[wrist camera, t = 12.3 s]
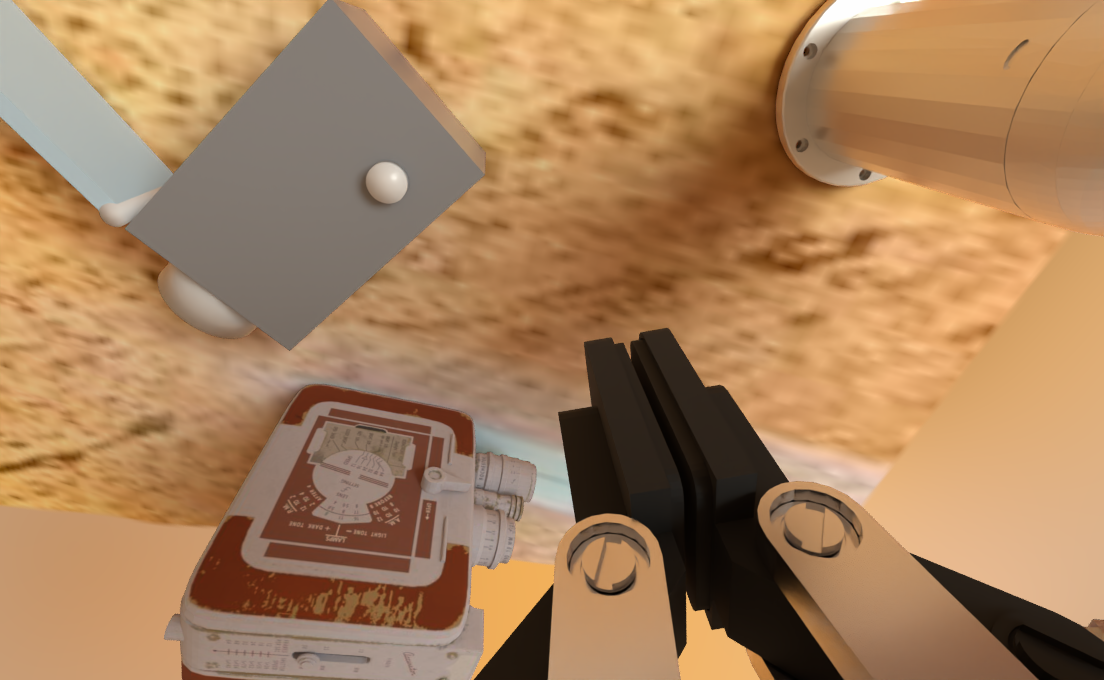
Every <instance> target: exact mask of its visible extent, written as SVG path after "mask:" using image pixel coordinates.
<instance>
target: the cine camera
mask: <svg viewBox="0 0 1104 680" xmlns="http://www.w3.org/2000/svg"><path fill="white" fill-rule="evenodd" d="M475 447H476V440H475V428H474V423H473V420H472V418H471V417H470V416H468V415H467V414H465V413H463V412H460V411H456V410H452V409H447V408H443V407H438V406H433V405H428V404H423V403H418V402H413V401H408V400H403V399H398V398H392V397H387V396H382V395H377V394H372V393H367V392H362V391H357V390H352V389H347V388H342V387H336V386H330V385H323V384H312V385H307V386H305V387H304V388H303V389H301V390H300V391H299V392H298V393H297V395H296V396H295V397H294V399H293V400H292V401H291V403H290V404H289V405H288V407H287V409H286V410H285V412H284V414H283V415H282V417H281V419H280V420H279V422H278V424H277V425H276V427H275V429H274V431H273V432H272V434H271V436H270V437H269V439H268V441H267V443H266V444H265V446H264V448H263V450H262V451H261V453H260V455H259V456H258V458H257V460H256V462H255V463H254V465H253V467H252V469H251V470H250V472H249V474H248V476H247V477H246V479H245V481H244V482H243V484H242V486H241V488H240V489H239V491H238V493H237V495H236V496H235V498H234V500H233V502H232V503H231V505H230V507H229V508H228V510H227V512H226V514H225V515H224V517H223V519H222V521H221V522H220V524H219V526H218V528H217V529H216V531H215V533H214V535H213V537H212V538H211V540H210V542H209V544H208V545H207V547H206V549H205V551H204V552H203V554H202V556H201V558H200V559H199V562H198V563H197V565H196V567H195V569H194V571H193V573H192V575H191V577H190V579H189V582H188V585H187V588H186V590H185V593H184V595H183V597H182V601H181V608H180V614H174V615H173V616H172V618H171V620H170V621H169V624H168V626H167V628H166V631H165V635H164V639H165V640H177V641H180V647H181V657H182V679H183V680H471V678H472V675H473V673H474V671H475V669H476V667H477V664H478V662H479V660H480V657H481V656H482V653H483V634H484V633H483V632H484V629H483V628H484V610H482V609H477V608H474V607H472V606H471V605H469V603H470V593H471V569H472V567H473V566H475V565H481V566H487V568H488V569H495V568H496V567H497V565H498V564H499V563H508V562H509V560H510V557H511V554H512V551H513V546H514V541H515V521H520V519H521V516H522V513H523V507H524V502H529V501H530V500H531V498H532V496H533V493H534V489H535V484H536V466H535V465H534V464H531V463H530V462H528V461H522V460H519V459H518V458H512V457H508V456H507V455H503V454H501V455H500V456H498V455H494V454H493V453H491V452H487V453H486V454H483V453H477V454H475Z"/></svg>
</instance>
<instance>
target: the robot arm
mask: <svg viewBox="0 0 1104 680" xmlns="http://www.w3.org/2000/svg"><path fill="white" fill-rule="evenodd" d="M805 48H806V52H805V54H803V52H804V49H805ZM776 124H777V128H778V133H779V138H780V141H781V143H782V145H783V148H784V150H785V152H786V154H787V156H788V157H789V158H790V160H791V161H792V162H793V164H794V165H795V166H796V167H797V168H798V169H800V170H801V171H802V172H803V173H805V174H806V175H807V176H809V177H811V178H814V179H816V180H818V181H820V182H824V183H827V184H830V185H834V186H846V187H853V186H861V185H866V184H870V183H873V182H876V181H879V180H882V179H884V178H886V177H888V176H889V177H892V178H895V179H899V180H902V181H905V182H909V183H912V184H915V185H919V186H922V187H925V188H928V189H932V190H935V191H938V192H942V193H945V194H948V195H952V196H955V197H958V198H962V199H965V200H968V201H972V202H975V203H978V204H982V205H985V206H988V207H992V208H995V209H998V210H1001V211H1005V212H1008V213H1011V214H1015V215H1018V216H1021V217H1025V218H1028V219H1031V220H1035V221H1038V222H1041V223H1045V224H1049V225H1053V226H1056V227H1059V228H1063V229H1066V230H1070V231H1074V232H1078V233H1083V234H1088V235H1096V236H1104V0H828V1H826V2H825V3H824V4H823V5H822V6H821V7H820V9H819V10H818V11H817V12H816V13H815V14H814V15H813V16H812V18H811V19H810V20H809V21H808V22H807V24H806V25H805V27H804V28H803V30H802V31H801V33H800V35H799V36H798V38H797V39H796V41H795V42H794V45H793V47H792V49H791V51H790V53H789V55H788V57H787V59H786V61H785V64H784V68H783V71H782V74H781V77H780V81H779V85H778V92H777V99H776ZM797 142H798V145H797V146H796V144H797ZM584 348H585V356H586V364H587V372H588V380H589V388H590V396H591V404H592V407H587V408H581V409H575V410H569V411H563V412H558V415H559V421H560V427H561V433H562V439H563V446H564V452H565V458H566V464H567V470H568V477H569V483H570V489H571V495H572V501H573V508H574V514H575V520H576V524H575V525H574V526H573V527H572V528H571V529H569V530H568V531H567V532H566V533H565V535H564V537H563V538H562V540H561V541H560V543H559V545H558V549H557V553H556V558H555V571H554V583H553V585H552V586H551V587H550V588H549V590H548V591H547V592H546V593H545V594H544V596H543V597H542V598H541V599H540V601H539V602H538V603H537V604H536V605H535V606H534V608H533V609H532V610H531V611H530V613H529V614H528V615H527V616H526V617H525V619H524V620H523V621H522V622H521V623H520V625H519V626H518V627H517V628H516V629H515V631H514V632H513V633H512V634H511V635H510V637H509V638H508V639H507V640H506V641H505V643H504V644H503V645H502V647H501V648H500V649H499V650H498V651H497V652H496V654H495V655H494V656H493V657H492V659H491V660H490V661H489V662H488V664H486V666H485V667H484V668H483V669H482V670H481V672H480V673H479V674H478V675H477V677H476V678H475V679H474V680H681V679H680V672H679V666H678V658H679V656H680V655H681V653H682V651H683V649H684V647H685V646H686V643H687V642H686V592H687V595H688V598H689V600H690V603H691V606H692V608H693V610H695V611H698V610H705V613H706V616H707V618H708V621H709V624H710V626H711V629H712V630H714V629H720V628H725V631H726V634H727V636H728V637H729V638H731V639H732V640H734V641H736V642H737V643H739V644H741V645H742V646H744V647H746V651H747V654H748V656H749V659H750V661H751V664H752V666H753V668H754V669H755V671H756V673H757V675H758V677H759V678H760V680H1104V620H1100V619H1093V620H1092V621H1091V623H1090V624H1089V626H1088V627H1083V626H1081V625H1079V624H1077V623H1075V622H1073V621H1071V620H1069V619H1067V618H1065V617H1063V616H1061V615H1059V614H1057V613H1055V612H1053V611H1050V610H1048V609H1046V608H1043V607H1040V606H1038V605H1036V604H1033V603H1031V602H1029V601H1026V600H1024V599H1021V598H1019V597H1016V596H1013V595H1011V594H1009V593H1006V592H1004V591H1002V590H999V589H997V588H994V587H992V586H989V585H987V584H984V583H982V582H980V581H977V580H975V579H972V578H970V577H967V576H965V575H963V574H960V573H958V572H955V571H953V570H950V569H948V568H945V567H943V566H941V565H938V564H936V563H933V562H931V561H928V560H926V559H924V558H921V557H919V556H916V555H914V554H911V553H909V552H908V551H907V550H905V548H904V547H902V546H901V545H900V544H899V543H898V542H897V541H896V540H895V539H894V538H893V537H892V536H891V535H890V534H889V533H888V532H887V531H886V530H885V529H884V528H883V527H882V526H881V525H880V524H879V523H878V522H877V521H876V520H875V519H874V518H873V517H872V516H871V515H870V514H869V513H868V512H867V511H865V509H864V508H863V507H862V506H860V505H859V504H858V503H857V502H855V501H854V500H853V499H851V498H850V497H849V496H848V495H846V494H844V493H842V492H840V491H838V490H836V489H834V488H832V487H829V486H825V485H821V484H818V483H814V482H802V481H794V482H789V481H788V480H787V478H786V477H785V475H784V474H783V472H782V471H781V469H780V468H779V466H778V465H777V463H776V462H775V460H774V459H773V457H772V456H771V454H770V453H769V451H768V450H767V448H766V447H765V445H764V444H763V443H762V441H761V440H760V438H759V437H758V435H757V434H756V432H755V431H754V429H753V428H752V426H751V425H750V423H749V422H748V420H747V419H746V417H745V416H744V414H743V413H742V411H741V410H740V408H739V407H738V405H737V404H736V402H735V401H734V400H733V398H732V397H731V395H730V394H729V392H728V391H727V390H726V388H725V387H724V386H721V385H717V386H711V387H705V386H704V385H703V383H702V381H701V380H700V378H699V377H698V375H697V373H696V372H695V370H694V368H693V367H692V365H691V364H690V362H689V360H688V359H687V357H686V355H685V354H684V352H683V351H682V349H681V347H680V346H679V344H678V342H677V341H676V339H675V338H674V336H673V334H672V333H671V331H670V330H669V329H668V328H664V329H658V330H652V331H646V332H640V334H639V340H636V341H631V344H630V349H631V359H630V357H629V355H628V352H627V350H626V348H625V345H624V343H618V344H614V342H613V340H612V338H605V339H599V340H593V341H587V342H584Z"/></svg>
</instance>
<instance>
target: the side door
mask: <svg viewBox="0 0 1104 680" xmlns="http://www.w3.org/2000/svg"><path fill="white" fill-rule="evenodd" d="M0 117H1V118H2V119H3V120H4V121H5V122H6V123H7V124H8V125H9V126H10V127H11V128H12V129H13V130H15V131H16V132H17V133H18V134H19V135H20V136H21V137H22V138H23V139H24V140H25V141H26V142H27V143H28V144H29V145H30V146H31V147H32V148H33V149H35V150H36V151H37V152H38V153H39V154H40V155H41V156H42V157H43V158H44V159H45V160H46V161H47V162H48V163H49V164H50V165H51V166H52V167H53V168H55V169H56V170H57V171H58V172H59V173H60V174H61V175H62V176H63V177H64V178H65V179H66V180H67V181H68V182H69V183H70V184H71V185H72V186H73V187H75V188H76V189H77V190H78V191H79V192H80V193H81V194H82V195H83V196H84V197H85V198H86V199H87V200H88V201H89V202H90V203H91V204H92V205H93V206H95V207H96V208H97V209H98V210H99V214H100V217H101V218H102V220H103V221H104V222H105V223H107V224H108V225H110V226H113V227H121V226H123V225H125V224H127V223H130V222H131V221H132V220H133V219H134V218H135V216H136V215H137V214H138V213H139V212H140V211H141V210H142V209H143V207H144V206H145V205H146V204H147V203H148V202H149V201H150V200H151V198H152V197H153V196H154V195H155V194H156V193H157V192H158V191H159V189H160V188H161V187H162V186H163V185H164V184H165V183H166V182H167V180H168V179H169V178H170V177H171V176H172V175H173V173H172V172H171V171H170V169H169V168H168V167H167V166H166V165H165V164H164V163H163V162H162V161H161V160H160V159H159V158H158V157H157V156H156V154H155V153H154V152H153V151H152V150H151V149H150V148H149V147H148V146H147V145H146V144H145V143H144V142H143V141H142V139H141V138H140V137H139V136H138V135H137V134H136V133H135V132H134V131H133V130H132V129H131V128H130V127H129V126H128V124H127V123H126V122H125V121H124V120H123V119H122V118H121V117H120V116H119V115H118V114H117V113H116V112H115V111H114V109H113V108H112V107H111V106H110V105H109V104H108V103H107V102H106V101H105V100H104V99H103V98H102V97H101V95H100V94H99V93H98V92H97V91H96V90H95V89H94V88H93V87H92V86H91V85H90V84H89V83H88V82H87V80H86V79H85V78H84V77H83V76H82V75H81V74H80V73H79V72H78V71H77V70H76V69H75V68H74V67H73V65H72V64H71V63H70V62H69V61H68V60H67V59H66V58H65V57H64V56H63V55H62V54H61V53H60V52H59V50H58V49H57V48H56V47H55V46H54V45H53V44H52V43H51V42H50V41H49V40H48V39H47V38H46V37H45V35H44V34H43V33H42V32H41V31H40V30H39V29H38V28H37V27H36V26H35V25H34V24H33V23H32V22H31V20H30V19H29V18H28V17H27V16H26V15H25V14H24V13H23V12H22V11H21V10H20V9H19V8H18V7H17V5H16V4H15V3H14V2H13V1H12V0H0Z"/></svg>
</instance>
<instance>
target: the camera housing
mask: <svg viewBox="0 0 1104 680" xmlns="http://www.w3.org/2000/svg"><path fill="white" fill-rule="evenodd" d="M485 158H486V153H485V151H484V150H483V149H482V148H481V147H480V145H479V144H478V143H477V142H476V141H475V140H474V138H473V137H472V136H471V135H470V134H469V133H468V131H467V130H466V129H465V128H464V127H463V125H462V124H461V123H460V122H459V121H458V120H457V118H456V117H455V116H454V115H453V114H452V112H451V111H450V110H449V109H448V108H447V107H446V105H445V104H444V103H443V102H442V101H441V100H440V98H439V97H438V96H437V95H436V94H435V92H434V91H433V90H432V89H431V88H430V87H429V85H428V84H427V83H426V82H425V81H424V79H423V78H422V77H421V76H420V75H419V74H418V72H417V71H416V70H415V69H414V68H413V67H412V65H411V64H410V63H409V62H408V61H407V59H406V58H405V57H404V56H403V55H402V54H401V52H400V51H399V50H398V49H397V48H396V46H395V45H394V44H393V43H392V42H391V41H390V39H389V38H388V37H387V36H386V35H385V33H384V32H383V31H382V30H381V29H380V28H379V26H378V25H377V24H376V23H375V22H374V21H373V19H372V18H371V17H370V16H369V15H368V13H367V12H366V11H365V10H364V9H361V8H358V7H356V6H353V5H350V4H348V3H345V2H342V1H339V0H327V1H326V3H325V4H324V5H323V6H322V7H321V8H320V9H319V10H318V12H317V13H316V14H315V15H314V16H313V17H312V18H311V19H310V21H309V22H308V23H307V24H306V25H305V26H304V27H303V28H302V30H301V31H300V32H299V33H298V34H297V35H296V36H295V37H294V39H293V40H292V41H291V42H290V43H289V44H288V45H287V46H286V48H285V49H284V50H283V51H282V52H281V53H280V54H279V55H278V57H277V58H276V59H275V60H274V61H273V62H272V63H271V64H270V66H269V67H268V68H267V69H266V70H265V71H264V72H263V73H262V75H261V76H260V77H259V78H258V79H257V80H256V81H255V82H254V84H253V85H252V86H251V87H250V88H249V89H248V90H247V91H246V93H245V94H244V95H243V96H242V97H241V98H240V99H239V101H238V102H237V103H236V104H235V105H234V106H233V107H232V108H231V110H230V111H229V112H228V113H227V114H226V115H225V116H224V117H223V119H222V120H221V121H220V122H219V123H218V124H217V125H216V126H215V128H214V129H213V130H212V131H211V132H210V133H209V134H208V135H207V137H206V138H205V139H204V140H203V141H202V142H201V143H200V144H199V146H198V147H197V148H196V149H195V150H194V151H193V152H192V153H191V155H190V156H189V157H188V158H187V159H186V160H185V161H184V162H183V164H182V165H181V166H180V167H179V168H178V169H177V170H176V171H175V173H174V174H173V175H172V176H171V177H170V178H169V179H168V180H167V182H166V183H165V184H164V185H163V186H162V187H161V188H160V189H159V191H158V192H157V193H156V194H155V195H154V196H153V197H152V198H151V200H150V201H149V202H148V203H147V204H146V205H145V206H144V207H143V209H142V210H141V211H140V212H139V213H138V214H137V215H136V216H135V218H134V219H133V220H132V221H131V222H130V223H129V224H128V225H127V227H126V228H125V230H127V231H128V232H130V233H131V234H132V235H134V236H135V237H136V238H138V239H139V240H140V241H142V242H143V243H144V244H146V245H147V246H148V247H150V248H151V249H153V250H154V251H155V252H157V253H158V254H159V255H161V256H162V257H163V258H165V259H166V260H167V261H169V263H168V265H167V266H166V267H165V268H164V269H163V270H162V271H161V272H160V274H159V277H158V288H159V291H160V294H161V296H162V298H163V299H164V301H165V302H166V304H167V305H168V306H169V308H170V309H171V310H172V311H173V312H174V313H175V314H176V315H177V316H179V317H180V318H181V319H182V320H184V321H185V322H186V323H188V324H189V325H191V326H193V327H194V328H196V329H198V330H200V331H202V332H205V333H207V334H210V335H213V336H216V337H220V338H227V339H237V338H242V337H245V336H247V335H249V334H250V333H251V332H253V331H254V330H255V329H256V328H257V327H258V328H259V329H261V330H262V331H263V332H265V333H266V334H267V335H269V336H270V337H272V338H273V339H274V340H276V341H277V342H278V343H280V344H281V345H282V346H284V347H285V348H286V349H288V350H289V351H290V350H291V349H292V348H293V347H294V346H296V345H297V344H298V343H299V342H300V341H301V340H302V339H303V338H304V337H306V336H307V335H308V334H309V333H310V332H311V331H312V330H313V329H314V328H315V327H317V326H318V325H319V324H320V323H321V322H322V321H323V320H324V319H325V318H327V317H328V316H329V315H330V314H331V313H332V312H333V311H334V310H335V309H337V308H338V307H339V306H340V305H341V304H342V303H343V302H344V301H345V300H347V299H348V298H349V297H350V296H351V295H352V294H353V293H354V292H355V291H357V290H358V289H359V288H360V287H361V286H362V285H363V284H364V283H365V282H366V281H368V280H369V279H370V278H371V277H372V276H373V275H374V274H375V273H376V272H378V271H379V270H380V269H381V268H382V267H383V266H384V265H385V264H386V263H388V262H389V261H390V260H391V259H392V258H393V257H394V256H395V255H396V254H398V253H399V252H400V251H401V250H402V249H403V248H404V247H405V246H406V245H408V244H409V243H410V242H411V241H412V240H413V239H414V238H415V237H416V236H417V235H419V234H420V233H421V232H422V231H423V230H424V229H425V228H426V227H427V226H429V225H430V224H431V223H432V222H433V221H434V220H435V219H436V218H437V217H439V216H440V215H441V214H442V213H443V212H444V211H445V210H446V209H447V208H449V207H450V206H451V205H452V204H453V203H454V202H455V201H456V200H457V199H459V198H460V197H461V196H462V195H463V194H464V193H465V192H466V191H467V190H468V189H470V188H471V187H472V186H473V185H474V184H475V183H476V182H477V181H478V180H480V179H481V178H482V177H483V176H484V175H485Z"/></svg>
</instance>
